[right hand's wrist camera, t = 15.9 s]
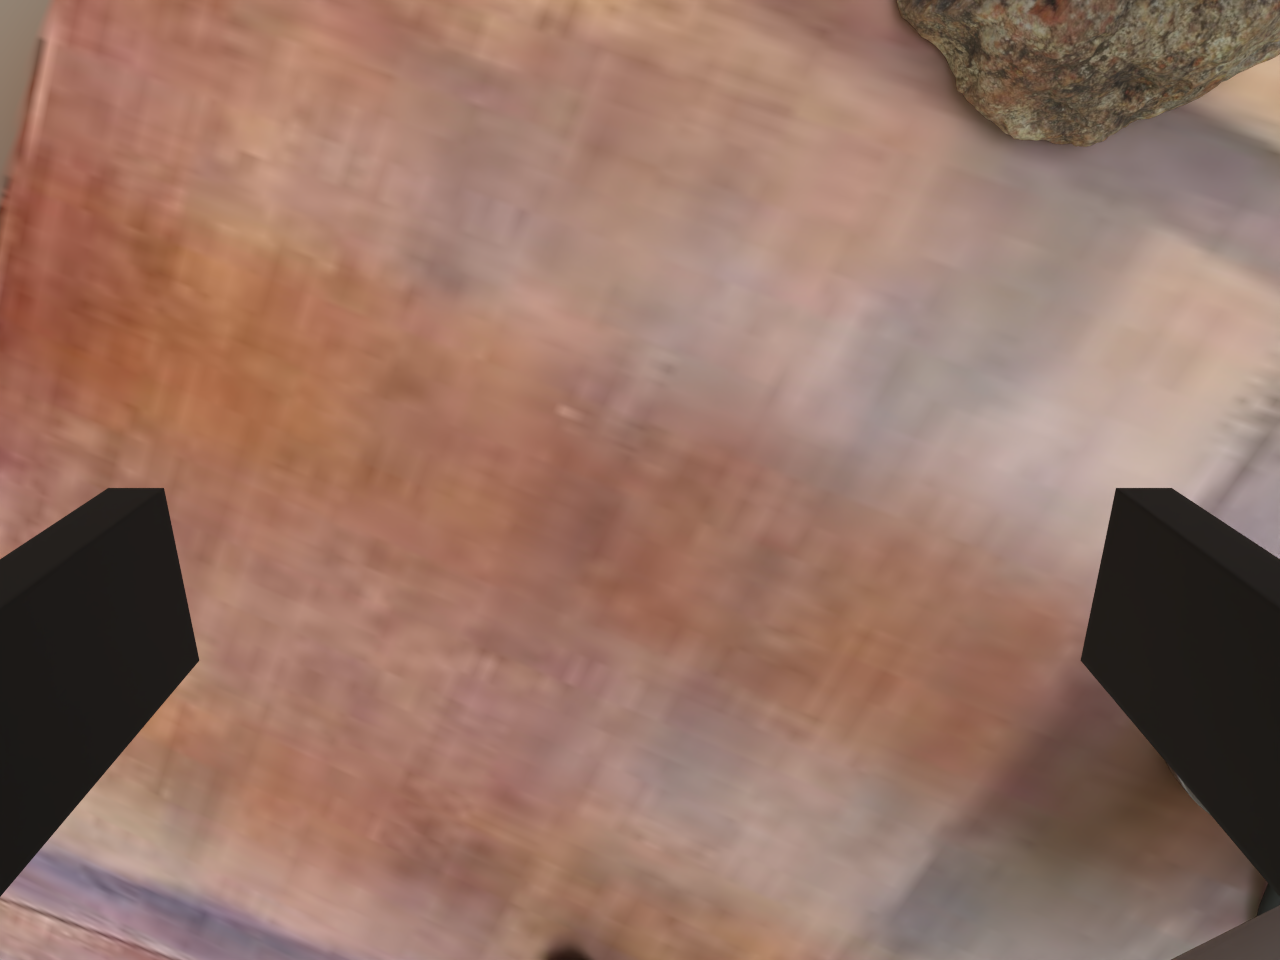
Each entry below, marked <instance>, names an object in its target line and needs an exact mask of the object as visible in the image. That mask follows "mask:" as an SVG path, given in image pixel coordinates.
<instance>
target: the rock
mask: <svg viewBox="0 0 1280 960" xmlns="http://www.w3.org/2000/svg"><path fill="white" fill-rule="evenodd" d="M896 1H897V4H898V7H899V11H900V14H901V17H902V18H904V19H905V20H907V21H908V22H909V23H910V24H911V25H912V26H913V27H914V28H915V29H916V30H917V32H918V33H919V34H920V36H921V37H923V38H925V39H927V40H928V41H930V42H931V43H933V44H934V45H935V46H936V47H937V48H938V49H939V50H940V51H941V52H942V53H943V55H944V56H945V57H946V59H947V62H948V64H949V66H950V69H951V71H952V72H953V74H954V75H955V77H956V87H957V90H958V92H960V93H962V94H963V95H964V96H965V98H966V99H967V101H968V102H969V103H971V104H972V105H973V106H974V107H975V109H976V110H978V111H979V112H980V113H981V114H982V115H983V116H984V117H985V118H986V119H988V120H991V121H992V122H993V123H995V124H996V125H997V126H998V127H999V128H1000V129H1001V130H1002V131H1003V132H1004V133H1006V134H1008V135H1011V136H1012V137H1013V138H1014V139H1020V140H1046V141H1049V142H1051V143H1054V144H1068V143H1072V144H1073V145H1075V146H1083V147H1087V146H1091V145H1093V144H1095V143H1097V142H1102V141H1104V140H1106V139H1107V138H1108V136H1110V135H1113V134H1115V133H1116V132H1118V131H1119V130H1120V129H1122V128H1123V127H1127V126H1128V125H1129V124H1130V123H1132V122H1134V121H1136V120H1141V119H1149V118H1152V117H1155V116H1157V115H1159V114H1161V113H1163V112H1165V111H1169V110H1172V109H1175V108H1177V107H1180V106H1182V105H1185V104H1187V103H1189V102H1191V101H1193V100H1196V99H1198V98H1200V97H1201V96H1203V95H1204V94H1206V93H1207V92H1209V91H1210V90H1212V89H1213V88H1215V87H1216V86H1218V85H1219V84H1220V83H1221V82H1223V81H1225V80H1228V79H1230V78H1231V77H1233V76H1234V75H1236V74H1238V73H1240V72H1242V71H1244V70H1247V69H1249V68H1251V67H1253V66H1255V65H1257V64H1259V63H1262V62H1265V61H1268V60H1270V59H1272V58H1274V57H1276V56H1278V55H1279V54H1280V0H896Z"/></svg>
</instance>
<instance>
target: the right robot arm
mask: <svg viewBox="0 0 1280 960" xmlns="http://www.w3.org/2000/svg"><path fill="white" fill-rule="evenodd" d="M198 661H199V657H198V652H197V647H196V642H195V637H194V632H193V628H192V623H191V618H190V613H189V608H188V603H187V598H186V593H185V589H184V584H183V579H182V574H181V569H180V564H179V559H178V555H177V550H176V545H175V540H174V535H173V530H172V525H171V520H170V516H169V511H168V506H167V501H166V496H165V491H164V488H108V489H106V490H105V491H103V492H102V493H100V494H99V495H97V496H96V497H94V498H93V499H91V500H90V501H88V502H87V503H85V504H84V505H82V506H80V507H79V508H77V509H76V510H74V511H73V512H71V513H70V514H68V515H67V516H65V517H64V518H62V519H61V520H59V521H58V522H56V523H55V524H53V525H52V526H50V527H49V528H47V529H46V530H44V531H43V532H41V533H40V534H38V535H37V536H35V537H33V538H32V539H30V540H29V541H27V542H26V543H24V544H23V545H21V546H20V547H18V548H17V549H15V550H14V551H12V552H11V553H9V554H8V555H6V556H5V557H3V558H2V559H0V896H1V895H2V894H3V893H4V892H5V890H6V889H7V888H8V887H9V886H10V884H11V883H12V882H13V881H14V880H15V878H16V877H17V876H18V875H19V874H20V873H21V871H22V870H23V869H24V868H25V867H26V865H27V864H28V863H29V862H30V861H31V859H32V858H33V857H34V856H35V855H36V854H37V852H38V851H39V850H40V849H41V848H42V846H43V845H44V844H45V843H46V842H47V841H48V839H49V838H50V837H51V836H52V835H53V833H54V832H55V831H56V830H57V829H58V827H59V826H60V825H61V824H62V823H63V822H64V820H65V819H66V818H67V817H68V816H69V814H70V813H71V812H72V811H73V810H74V808H75V807H76V806H77V805H78V804H79V803H80V801H81V800H82V799H83V798H84V797H85V795H86V794H87V793H88V792H89V791H90V789H91V788H92V787H93V786H94V785H95V784H96V782H97V781H98V780H99V779H100V778H101V776H102V775H103V774H104V773H105V772H106V770H107V769H108V768H109V767H110V766H111V765H112V763H113V762H114V761H115V760H116V759H117V757H118V756H119V755H120V754H121V753H122V752H123V750H124V749H125V748H126V747H127V746H128V744H129V743H130V742H131V741H132V740H133V738H134V737H135V736H136V735H137V734H138V733H139V731H140V730H141V729H142V728H143V727H144V725H145V724H146V723H147V722H148V721H149V719H150V718H151V717H152V716H153V715H154V714H155V712H156V711H157V710H158V709H159V708H160V706H161V705H162V704H163V703H164V702H165V700H166V699H167V698H168V697H169V696H170V695H171V693H172V692H173V691H174V690H175V689H176V687H177V686H178V685H179V684H180V683H181V681H182V680H183V679H184V678H185V677H186V676H187V674H188V673H189V672H190V671H191V670H192V668H193V667H194V666H195V665H196V664H197V663H198ZM1081 661H1082V663H1083V664H1084V665H1085V666H1086V667H1087V668H1088V670H1089V671H1090V672H1091V673H1092V674H1093V676H1094V677H1095V678H1096V679H1097V680H1098V681H1099V683H1100V684H1101V685H1102V686H1103V687H1104V689H1105V690H1106V691H1107V692H1108V693H1109V695H1110V696H1111V697H1112V698H1113V699H1114V700H1115V702H1116V703H1117V704H1118V705H1119V706H1120V708H1121V709H1122V710H1123V711H1124V712H1125V714H1126V715H1127V716H1128V717H1129V718H1130V719H1131V721H1132V722H1133V723H1134V724H1135V725H1136V727H1137V728H1138V729H1139V730H1140V731H1141V733H1142V734H1143V735H1144V736H1145V737H1146V738H1147V740H1148V741H1149V742H1150V743H1151V744H1152V746H1153V747H1154V748H1155V749H1156V750H1157V752H1158V753H1159V754H1160V755H1161V756H1162V757H1163V759H1164V760H1165V761H1166V763H1167V765H1168V767H1169V769H1170V771H1171V772H1172V774H1173V775H1174V777H1175V778H1176V780H1177V781H1178V782H1179V783H1180V784H1181V786H1182V787H1183V788H1184V789H1185V790H1186V792H1187V793H1188V794H1189V795H1190V796H1191V797H1192V799H1193V800H1194V801H1195V802H1196V803H1197V804H1198V805H1199V806H1200V807H1202V808H1203V809H1204V810H1205V811H1206V812H1208V813H1209V814H1210V815H1211V816H1212V817H1213V818H1214V819H1215V820H1216V822H1217V823H1218V824H1219V825H1220V826H1221V827H1222V829H1223V830H1224V831H1225V832H1226V833H1227V835H1228V836H1229V837H1230V838H1231V839H1232V841H1233V842H1234V843H1235V844H1236V845H1237V846H1238V848H1239V849H1240V850H1241V851H1242V852H1243V854H1244V855H1245V856H1246V857H1247V858H1248V859H1249V861H1250V862H1251V863H1252V864H1253V865H1254V867H1255V868H1256V869H1257V870H1258V871H1259V873H1260V874H1261V875H1262V876H1263V877H1264V878H1265V880H1266V881H1267V882H1268V885H1267V888H1266V890H1265V893H1264V895H1263V898H1262V900H1261V903H1260V906H1259V910H1258V914H1257V917H1255V918H1253V919H1251V920H1249V921H1247V922H1245V923H1243V924H1241V925H1239V926H1237V927H1235V928H1233V929H1231V930H1229V931H1227V932H1225V933H1223V934H1221V935H1219V936H1217V937H1215V938H1213V939H1211V940H1209V941H1207V942H1205V943H1203V944H1201V945H1199V946H1197V947H1195V948H1193V949H1191V950H1189V951H1187V952H1185V953H1183V954H1181V955H1179V956H1177V957H1175V958H1173V959H1171V960H1280V559H1278V558H1277V557H1275V556H1274V555H1272V554H1271V553H1269V552H1268V551H1266V550H1265V549H1263V548H1262V547H1260V546H1259V545H1257V544H1256V543H1254V542H1253V541H1251V540H1250V539H1248V538H1247V537H1245V536H1243V535H1242V534H1240V533H1239V532H1237V531H1236V530H1234V529H1233V528H1231V527H1230V526H1228V525H1227V524H1225V523H1224V522H1222V521H1221V520H1219V519H1218V518H1216V517H1215V516H1213V515H1212V514H1210V513H1209V512H1207V511H1206V510H1204V509H1203V508H1201V507H1200V506H1198V505H1196V504H1195V503H1193V502H1192V501H1190V500H1189V499H1187V498H1186V497H1184V496H1183V495H1181V494H1180V493H1178V492H1177V491H1175V490H1174V489H1172V488H1116V491H1115V496H1114V501H1113V506H1112V511H1111V516H1110V520H1109V525H1108V530H1107V535H1106V540H1105V545H1104V550H1103V555H1102V559H1101V564H1100V569H1099V574H1098V579H1097V584H1096V589H1095V593H1094V598H1093V603H1092V608H1091V613H1090V618H1089V623H1088V628H1087V632H1086V637H1085V642H1084V647H1083V652H1082V657H1081Z"/></svg>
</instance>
